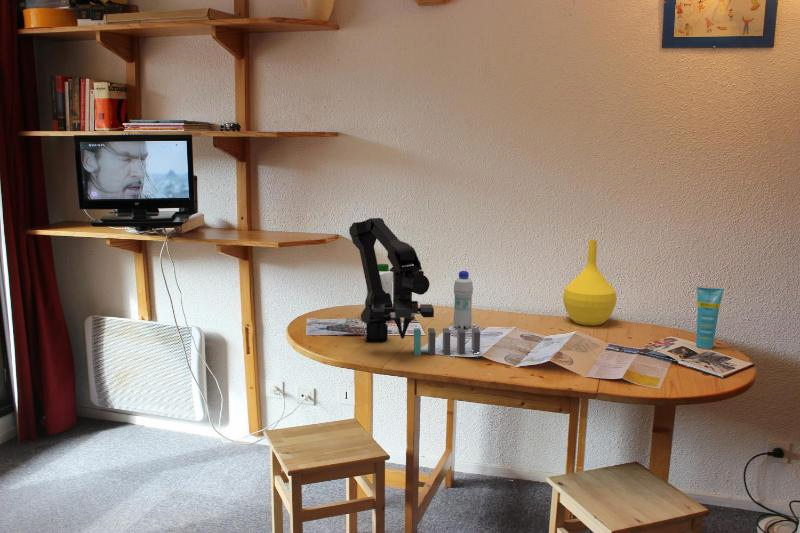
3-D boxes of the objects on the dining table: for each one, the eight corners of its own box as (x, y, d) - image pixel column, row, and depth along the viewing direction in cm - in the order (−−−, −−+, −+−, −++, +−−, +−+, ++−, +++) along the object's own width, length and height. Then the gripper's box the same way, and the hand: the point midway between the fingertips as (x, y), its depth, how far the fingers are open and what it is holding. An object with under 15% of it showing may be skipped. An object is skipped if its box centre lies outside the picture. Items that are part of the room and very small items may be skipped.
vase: (625, 324, 240) (631, 241, 235) (591, 332, 230) (596, 245, 224) (585, 313, 255) (589, 234, 249) (551, 320, 245) (555, 238, 239)
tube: (692, 347, 213) (698, 288, 209) (691, 343, 217) (696, 285, 214) (718, 350, 211) (724, 289, 207) (716, 345, 215) (722, 286, 212)
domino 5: (473, 354, 205) (474, 332, 204) (471, 349, 210) (472, 328, 209) (479, 354, 205) (480, 332, 204) (477, 349, 210) (477, 328, 209)
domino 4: (458, 354, 205) (459, 332, 204) (457, 349, 210) (457, 328, 208) (464, 354, 205) (465, 332, 204) (462, 349, 210) (463, 328, 209)
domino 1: (414, 355, 204) (414, 332, 203) (413, 350, 209) (414, 328, 208) (420, 355, 204) (420, 332, 203) (419, 350, 209) (419, 328, 208)
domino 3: (444, 355, 205) (444, 332, 203) (442, 349, 210) (442, 328, 208) (450, 354, 205) (450, 332, 203) (448, 349, 210) (448, 328, 208)
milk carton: (396, 319, 244) (396, 265, 241) (379, 324, 238) (379, 268, 234) (378, 315, 250) (378, 262, 246) (361, 320, 243) (361, 265, 240)
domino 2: (429, 355, 205) (429, 332, 203) (428, 350, 209) (428, 328, 208) (435, 355, 205) (435, 332, 203) (433, 350, 210) (434, 328, 208)
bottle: (471, 330, 231) (472, 273, 227) (451, 329, 232) (452, 272, 229) (473, 325, 238) (474, 269, 234) (454, 324, 239) (455, 268, 235)
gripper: (371, 294, 195) (371, 346, 198) (435, 294, 195) (435, 346, 198) (371, 286, 206) (371, 335, 209) (432, 286, 206) (432, 335, 209)
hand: (402, 338), depth 206 cm, fingers closed
